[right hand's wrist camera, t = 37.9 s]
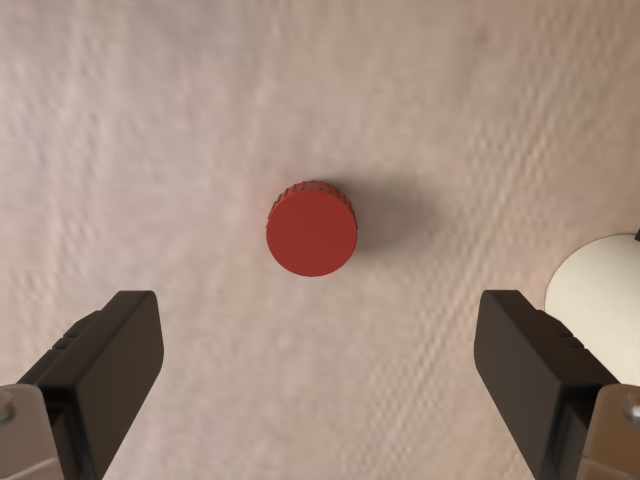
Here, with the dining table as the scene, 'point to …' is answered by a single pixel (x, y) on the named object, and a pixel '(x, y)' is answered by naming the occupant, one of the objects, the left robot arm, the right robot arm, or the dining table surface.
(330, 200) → the cap
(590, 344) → the bottle
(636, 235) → the left robot arm
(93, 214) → the dining table surface
